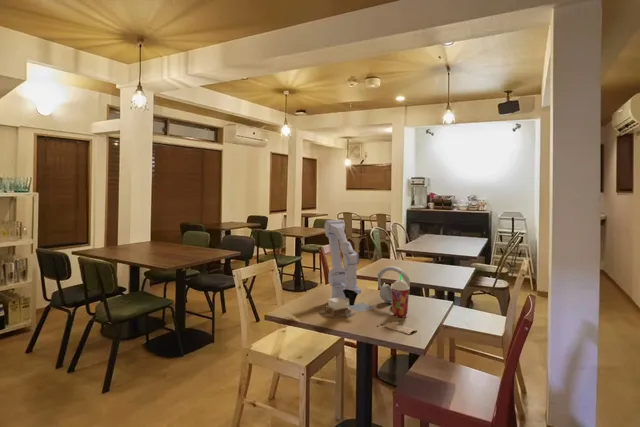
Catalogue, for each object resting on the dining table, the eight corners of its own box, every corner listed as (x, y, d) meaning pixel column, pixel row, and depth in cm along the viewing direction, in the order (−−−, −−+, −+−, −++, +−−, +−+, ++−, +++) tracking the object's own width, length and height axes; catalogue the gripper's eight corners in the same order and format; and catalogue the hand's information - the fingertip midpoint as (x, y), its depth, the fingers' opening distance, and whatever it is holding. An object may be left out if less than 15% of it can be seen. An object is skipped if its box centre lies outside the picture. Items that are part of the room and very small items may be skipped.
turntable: (311, 311, 189) (311, 303, 189) (341, 305, 199) (341, 297, 198) (331, 322, 174) (331, 314, 173) (363, 315, 183) (363, 307, 183)
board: (357, 302, 205) (357, 300, 205) (382, 312, 188) (382, 310, 188) (308, 312, 190) (308, 309, 190) (330, 324, 173) (330, 322, 173)
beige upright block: (335, 314, 182) (335, 302, 182) (328, 311, 188) (328, 299, 187) (355, 310, 188) (355, 298, 188) (348, 307, 194) (348, 295, 193)
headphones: (374, 302, 205) (374, 265, 204) (381, 299, 211) (382, 263, 210) (405, 309, 193) (405, 270, 192) (412, 305, 199) (413, 267, 198)
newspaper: (365, 322, 178) (365, 318, 178) (375, 318, 183) (375, 314, 183) (408, 336, 161) (409, 332, 161) (418, 332, 166) (418, 328, 165)
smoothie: (409, 313, 187) (410, 273, 186) (407, 319, 180) (408, 276, 178) (392, 311, 190) (393, 271, 189) (389, 317, 182) (390, 275, 181)
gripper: (335, 275, 193) (335, 302, 194) (352, 281, 181) (352, 310, 182) (347, 273, 197) (347, 299, 198) (364, 279, 185) (364, 307, 186)
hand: (350, 304), depth 190 cm, fingers closed on beige upright block
